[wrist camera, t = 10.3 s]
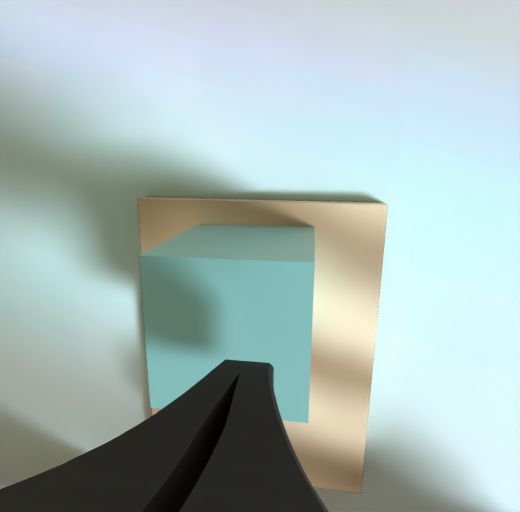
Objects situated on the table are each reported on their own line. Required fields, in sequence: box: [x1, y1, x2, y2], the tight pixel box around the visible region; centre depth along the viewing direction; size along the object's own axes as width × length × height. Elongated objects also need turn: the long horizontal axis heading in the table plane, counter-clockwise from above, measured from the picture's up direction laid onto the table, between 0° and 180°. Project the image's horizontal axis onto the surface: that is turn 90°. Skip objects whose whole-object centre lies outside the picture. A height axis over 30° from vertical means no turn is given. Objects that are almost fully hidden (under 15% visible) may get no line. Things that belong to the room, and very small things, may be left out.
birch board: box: [137, 197, 388, 493], centre depth 17 cm, size 16×12×6 cm
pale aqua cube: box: [139, 224, 315, 423], centre depth 15 cm, size 6×6×7 cm
